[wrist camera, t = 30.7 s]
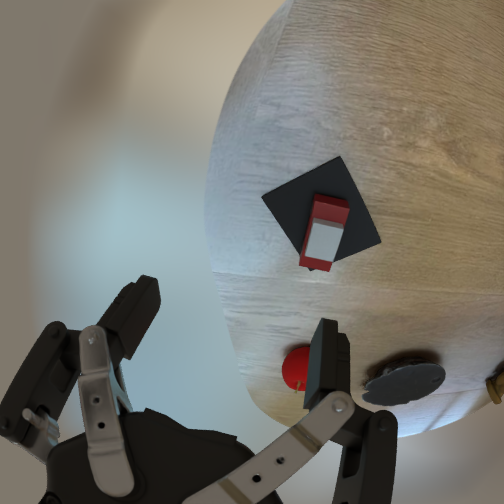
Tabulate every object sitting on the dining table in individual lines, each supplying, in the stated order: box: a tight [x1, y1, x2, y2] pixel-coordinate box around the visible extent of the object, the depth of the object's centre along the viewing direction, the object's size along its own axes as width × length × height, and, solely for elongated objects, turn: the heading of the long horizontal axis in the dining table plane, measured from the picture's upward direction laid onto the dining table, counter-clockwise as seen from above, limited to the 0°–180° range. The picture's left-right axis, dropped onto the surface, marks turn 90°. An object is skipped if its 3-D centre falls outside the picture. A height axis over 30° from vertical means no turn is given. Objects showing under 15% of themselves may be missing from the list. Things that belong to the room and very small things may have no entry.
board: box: [362, 357, 446, 406], centre depth 53 cm, size 22×22×5 cm
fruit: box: [282, 347, 310, 393], centre depth 52 cm, size 9×9×10 cm
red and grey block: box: [299, 194, 350, 272], centre depth 36 cm, size 5×5×10 cm
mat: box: [262, 156, 381, 271], centre depth 37 cm, size 14×12×1 cm
